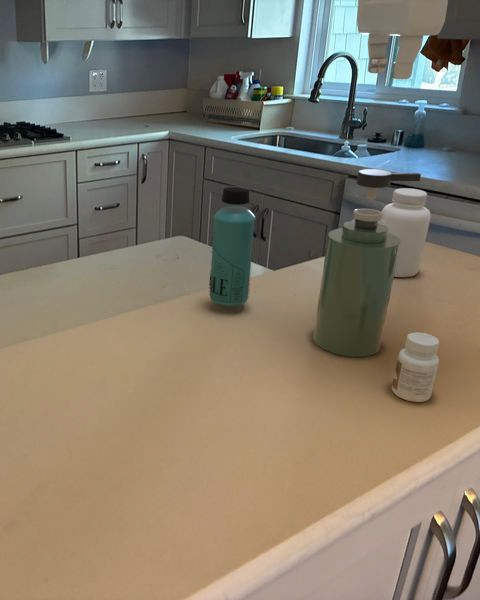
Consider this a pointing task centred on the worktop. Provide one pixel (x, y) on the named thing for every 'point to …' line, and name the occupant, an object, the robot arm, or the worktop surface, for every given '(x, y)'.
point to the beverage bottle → (232, 249)
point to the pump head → (381, 180)
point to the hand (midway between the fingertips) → (387, 75)
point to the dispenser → (356, 286)
